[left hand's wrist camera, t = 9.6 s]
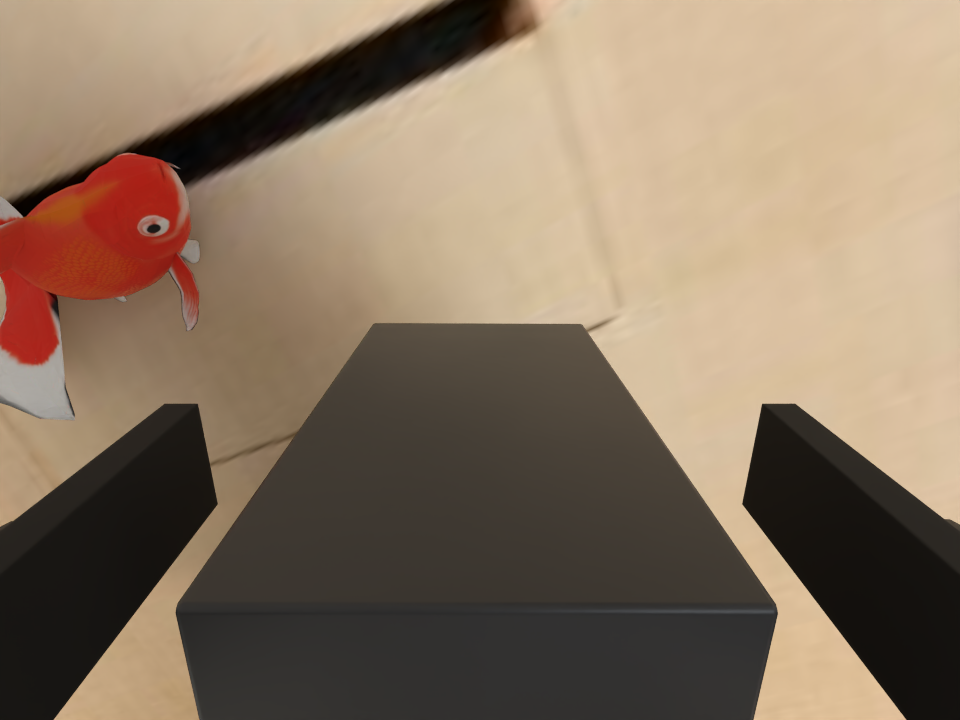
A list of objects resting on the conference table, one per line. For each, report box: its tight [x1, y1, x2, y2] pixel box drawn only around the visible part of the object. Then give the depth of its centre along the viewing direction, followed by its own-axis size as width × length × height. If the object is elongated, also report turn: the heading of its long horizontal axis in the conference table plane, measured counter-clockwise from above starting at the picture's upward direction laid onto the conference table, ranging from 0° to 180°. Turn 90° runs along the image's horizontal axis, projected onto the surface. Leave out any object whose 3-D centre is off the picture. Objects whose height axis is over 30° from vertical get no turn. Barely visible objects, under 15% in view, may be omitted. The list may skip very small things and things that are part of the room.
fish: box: [0, 153, 200, 420], centre depth 22 cm, size 11×16×10 cm
